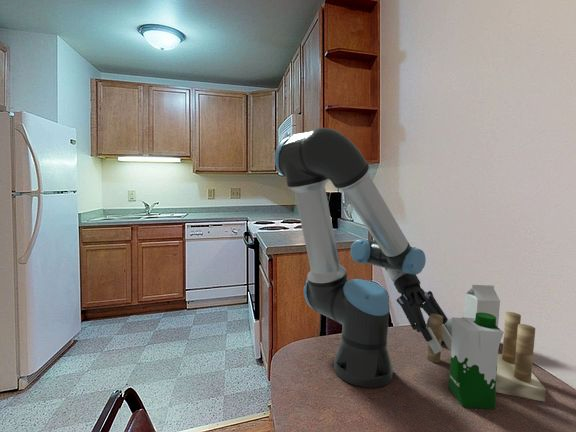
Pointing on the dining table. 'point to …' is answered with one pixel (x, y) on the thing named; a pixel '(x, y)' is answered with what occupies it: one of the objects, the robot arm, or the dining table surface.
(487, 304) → the milk carton
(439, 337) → the loose leg
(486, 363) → the soya milk
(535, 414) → the dining table surface
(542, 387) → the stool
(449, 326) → the ceramic mug
